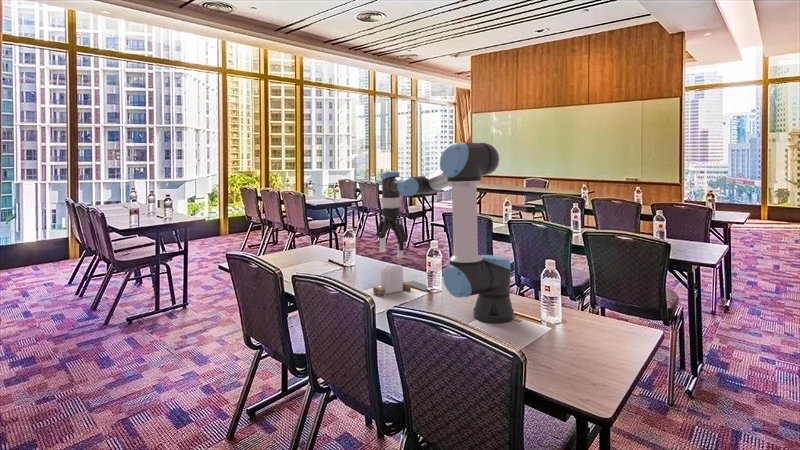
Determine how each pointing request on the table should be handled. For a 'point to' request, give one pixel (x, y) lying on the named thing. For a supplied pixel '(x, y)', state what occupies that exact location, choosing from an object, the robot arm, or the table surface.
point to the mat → (418, 285)
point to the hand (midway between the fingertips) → (391, 255)
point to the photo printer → (392, 279)
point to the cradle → (381, 291)
